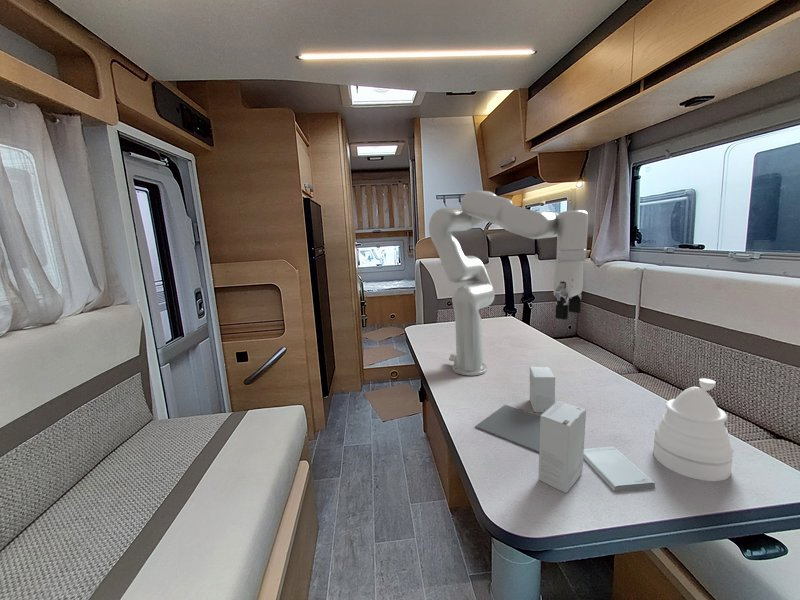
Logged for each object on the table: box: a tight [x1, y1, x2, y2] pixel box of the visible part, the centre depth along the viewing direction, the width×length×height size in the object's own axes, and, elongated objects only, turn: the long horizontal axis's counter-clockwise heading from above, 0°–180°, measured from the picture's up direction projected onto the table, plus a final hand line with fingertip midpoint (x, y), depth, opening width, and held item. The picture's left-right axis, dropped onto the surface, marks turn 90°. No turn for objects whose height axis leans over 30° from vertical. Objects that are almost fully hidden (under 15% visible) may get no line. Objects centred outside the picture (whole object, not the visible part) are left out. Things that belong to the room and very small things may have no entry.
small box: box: [529, 366, 556, 413], centre depth 102 cm, size 8×6×10 cm
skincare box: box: [538, 400, 587, 494], centre depth 72 cm, size 8×6×15 cm
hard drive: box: [583, 445, 656, 492], centre depth 75 cm, size 2×8×12 cm
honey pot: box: [652, 377, 734, 482], centre depth 75 cm, size 13×13×18 cm
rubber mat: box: [474, 404, 541, 454], centre depth 92 cm, size 20×16×1 cm
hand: (568, 315), depth 104 cm, fingers open, 9 cm apart
